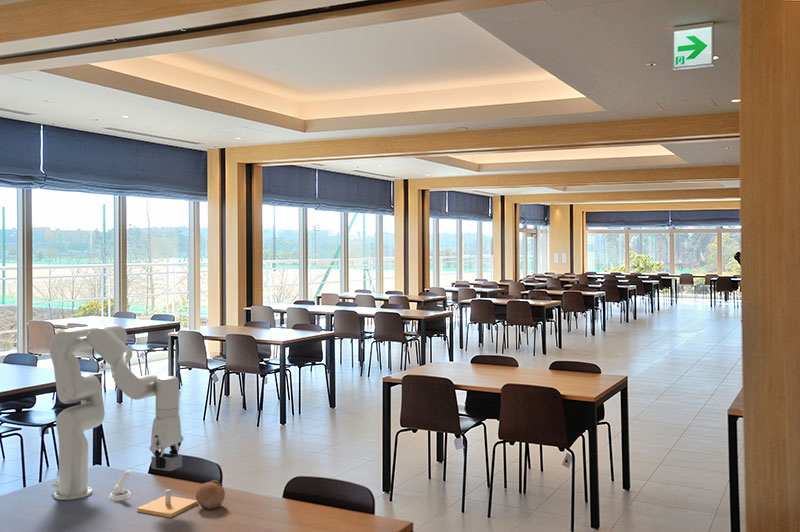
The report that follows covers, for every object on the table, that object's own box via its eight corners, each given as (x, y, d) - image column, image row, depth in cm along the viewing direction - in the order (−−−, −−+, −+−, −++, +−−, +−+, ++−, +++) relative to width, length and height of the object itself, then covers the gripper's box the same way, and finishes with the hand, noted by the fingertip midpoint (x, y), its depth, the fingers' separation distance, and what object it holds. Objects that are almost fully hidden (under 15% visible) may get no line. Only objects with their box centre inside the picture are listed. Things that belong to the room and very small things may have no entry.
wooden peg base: (137, 511, 232) (137, 493, 232) (165, 498, 245) (165, 481, 245) (170, 517, 226) (170, 499, 226) (197, 504, 239) (198, 486, 239)
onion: (217, 512, 240) (228, 484, 243) (218, 514, 231) (230, 484, 235) (191, 504, 238) (202, 475, 242) (191, 505, 229) (203, 475, 233)
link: (151, 468, 234) (151, 456, 234) (163, 463, 239) (163, 452, 239) (170, 471, 231) (170, 459, 231) (182, 466, 236) (182, 454, 236)
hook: (140, 486, 242) (122, 476, 240) (121, 512, 243) (103, 502, 242) (145, 475, 249) (128, 465, 248) (127, 500, 251) (110, 490, 249)
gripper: (175, 407, 245) (175, 457, 245) (140, 416, 229) (139, 471, 229) (192, 409, 242) (192, 460, 242) (157, 419, 226) (157, 473, 226)
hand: (166, 465), depth 235 cm, fingers closed on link, 6 cm apart
